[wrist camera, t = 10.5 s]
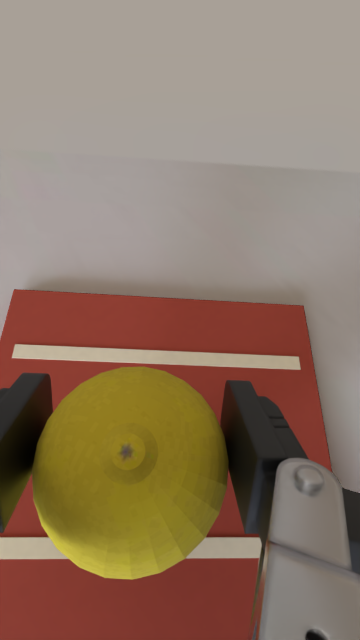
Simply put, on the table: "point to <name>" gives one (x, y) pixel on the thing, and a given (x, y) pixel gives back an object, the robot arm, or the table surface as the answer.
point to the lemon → (130, 472)
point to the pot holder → (209, 380)
